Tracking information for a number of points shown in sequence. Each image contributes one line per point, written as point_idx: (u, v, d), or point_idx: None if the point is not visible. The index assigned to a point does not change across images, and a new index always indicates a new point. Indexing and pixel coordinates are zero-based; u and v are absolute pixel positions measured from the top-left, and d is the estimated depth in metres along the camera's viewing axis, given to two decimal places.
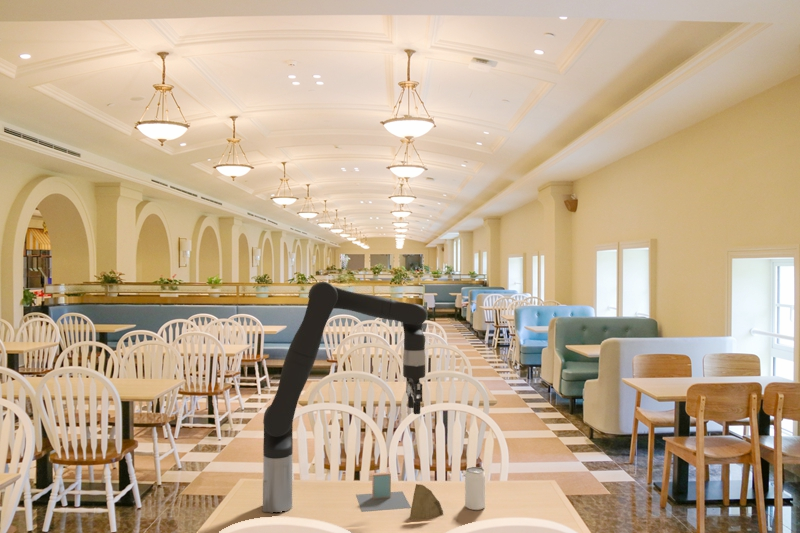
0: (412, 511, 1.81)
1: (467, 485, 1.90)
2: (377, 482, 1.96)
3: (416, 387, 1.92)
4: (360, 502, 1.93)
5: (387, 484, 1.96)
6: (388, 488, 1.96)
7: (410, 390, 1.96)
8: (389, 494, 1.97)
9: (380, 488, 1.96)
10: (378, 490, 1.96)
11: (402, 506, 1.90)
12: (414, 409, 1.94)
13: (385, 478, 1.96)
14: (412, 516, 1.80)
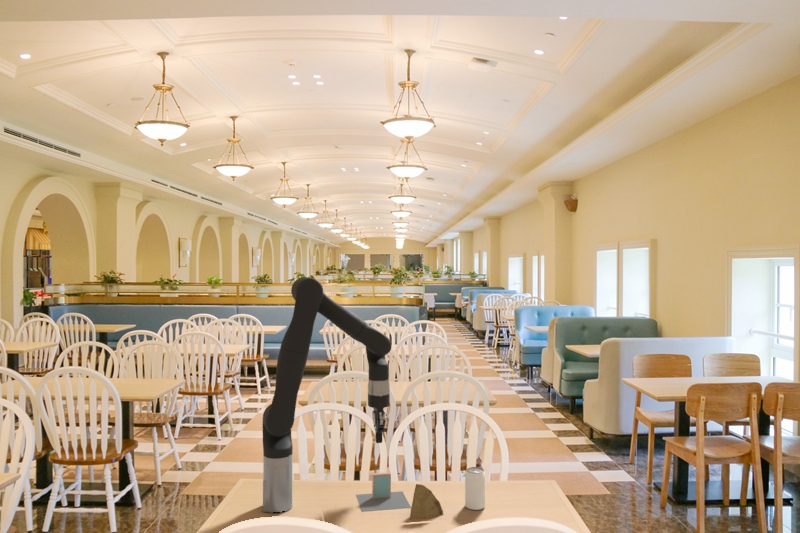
0: (412, 511, 1.81)
1: (467, 485, 1.90)
2: (377, 482, 1.96)
3: (379, 423, 1.97)
4: (360, 502, 1.93)
5: (387, 484, 1.96)
6: (388, 488, 1.96)
7: (374, 419, 2.02)
8: (389, 494, 1.97)
9: (380, 488, 1.96)
10: (378, 490, 1.96)
11: (402, 506, 1.90)
12: (376, 438, 2.02)
13: (385, 478, 1.96)
14: (412, 516, 1.80)
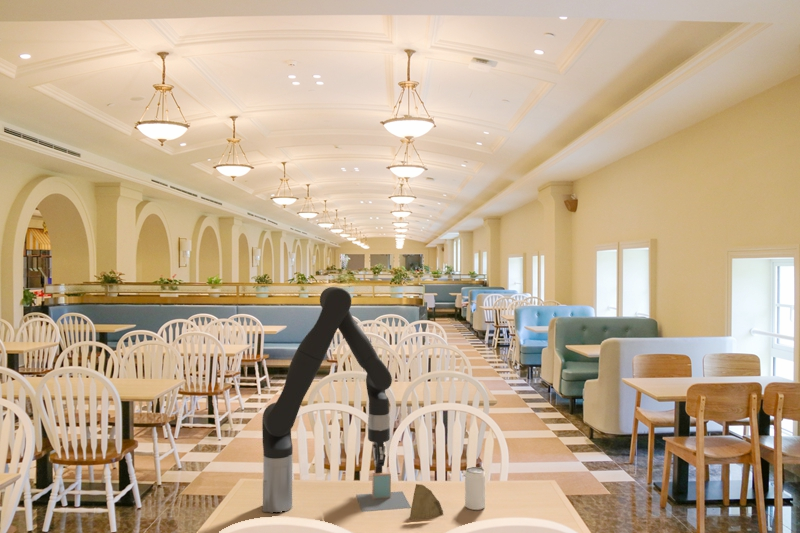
0: (412, 511, 1.81)
1: (467, 485, 1.90)
2: (377, 482, 1.96)
3: (379, 458, 1.97)
4: (360, 502, 1.93)
5: (387, 484, 1.96)
6: (388, 488, 1.96)
7: (374, 453, 2.02)
8: (389, 494, 1.97)
9: (380, 488, 1.96)
10: (378, 490, 1.96)
11: (402, 506, 1.90)
12: (376, 472, 2.02)
13: (385, 478, 1.96)
14: (412, 516, 1.80)
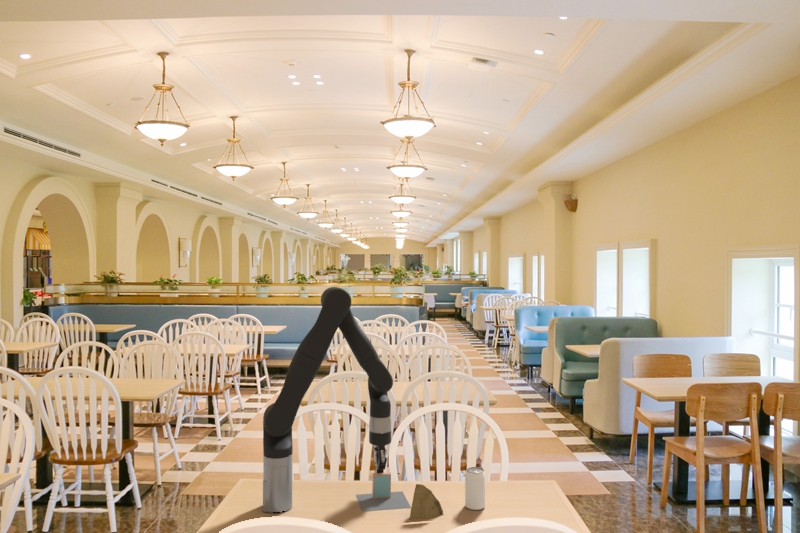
0: (412, 511, 1.81)
1: (467, 485, 1.90)
2: (377, 482, 1.96)
3: (380, 462, 1.94)
4: (360, 502, 1.93)
5: (387, 484, 1.96)
6: (388, 488, 1.96)
7: (375, 456, 1.99)
8: (389, 494, 1.97)
9: (380, 488, 1.96)
10: (378, 490, 1.96)
11: (402, 506, 1.90)
12: None
13: (385, 478, 1.96)
14: (412, 516, 1.80)
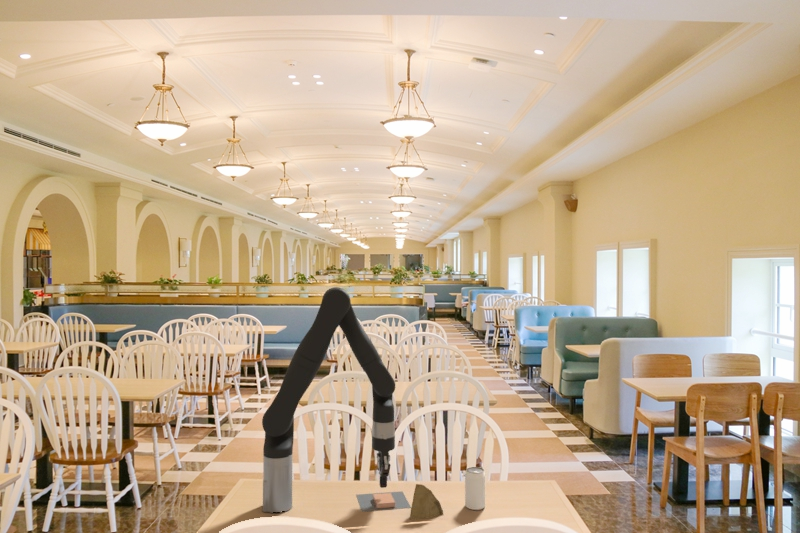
0: (412, 511, 1.81)
1: (467, 485, 1.90)
2: None
3: (383, 468, 1.88)
4: (360, 502, 1.93)
5: None
6: None
7: (378, 462, 1.92)
8: None
9: None
10: None
11: (402, 506, 1.90)
12: (380, 482, 1.93)
13: None
14: (412, 516, 1.80)
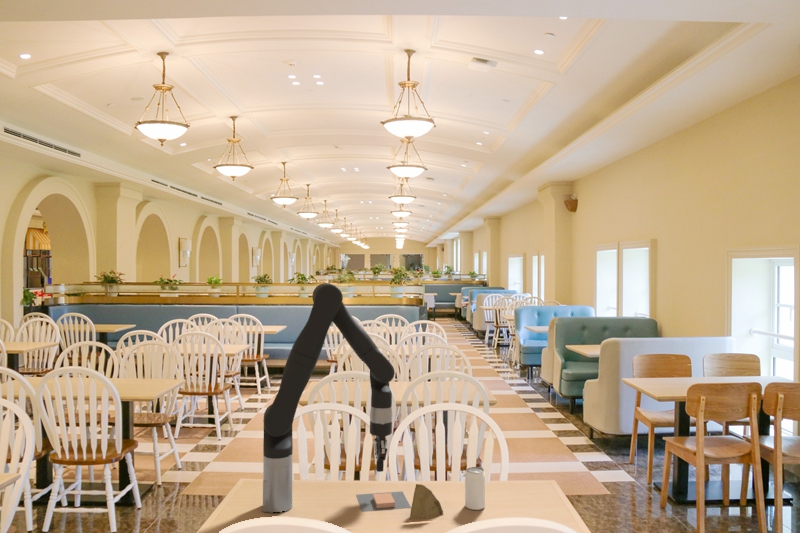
0: (412, 511, 1.81)
1: (467, 485, 1.90)
2: None
3: (380, 452, 1.93)
4: (360, 502, 1.93)
5: None
6: None
7: (375, 447, 1.98)
8: None
9: None
10: None
11: (402, 506, 1.90)
12: (377, 467, 1.98)
13: None
14: (412, 516, 1.80)
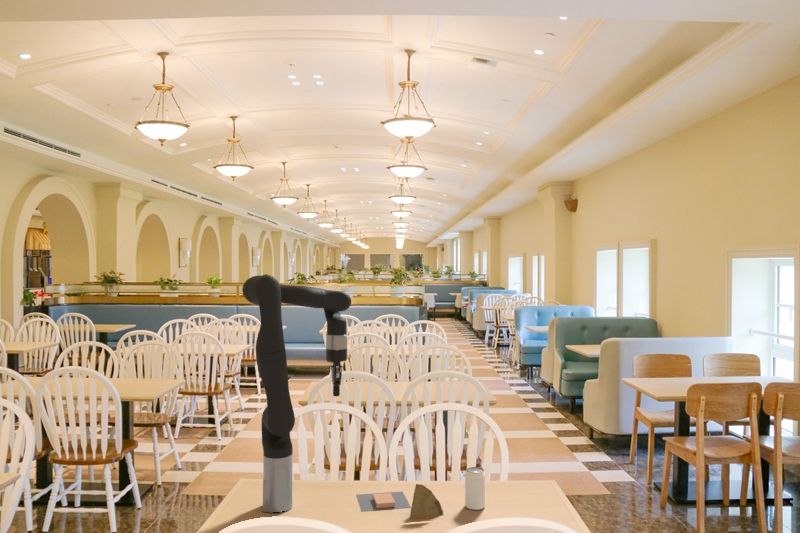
0: (412, 511, 1.81)
1: (467, 485, 1.90)
2: None
3: (335, 376, 2.04)
4: (360, 502, 1.93)
5: None
6: None
7: (331, 372, 2.08)
8: None
9: None
10: None
11: (402, 506, 1.90)
12: (333, 391, 2.08)
13: None
14: (412, 516, 1.80)
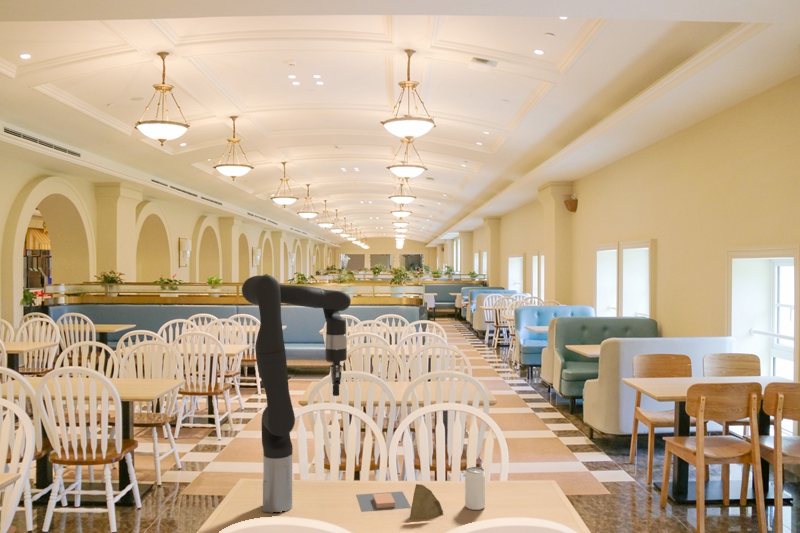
0: (412, 511, 1.81)
1: (467, 485, 1.90)
2: None
3: (335, 376, 2.04)
4: (360, 502, 1.93)
5: None
6: None
7: (331, 372, 2.08)
8: None
9: None
10: None
11: (402, 506, 1.90)
12: (333, 391, 2.08)
13: None
14: (412, 516, 1.80)
